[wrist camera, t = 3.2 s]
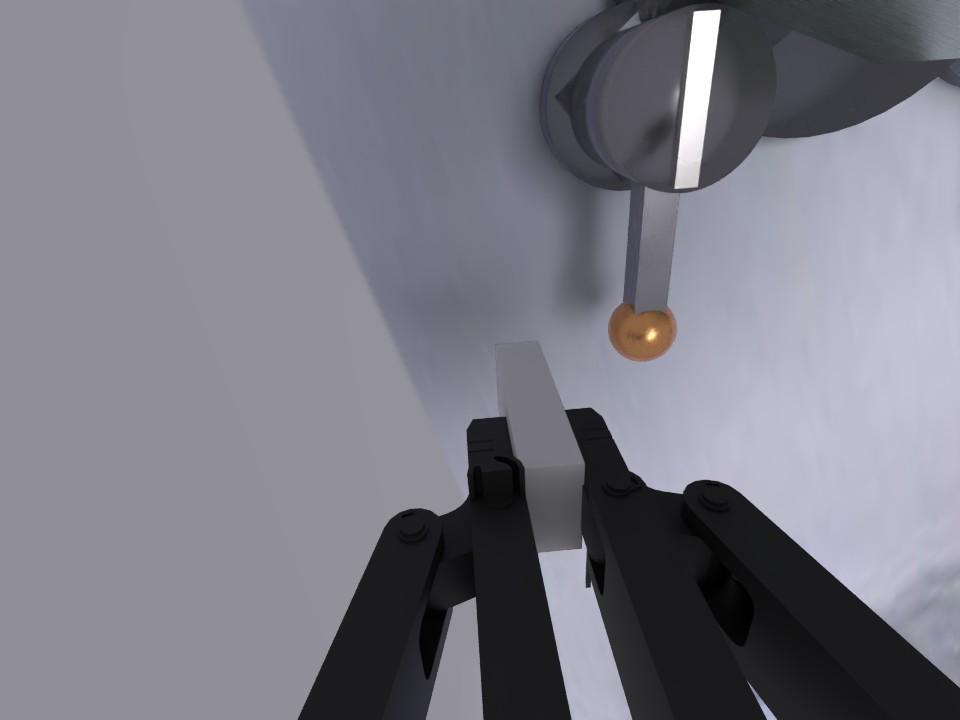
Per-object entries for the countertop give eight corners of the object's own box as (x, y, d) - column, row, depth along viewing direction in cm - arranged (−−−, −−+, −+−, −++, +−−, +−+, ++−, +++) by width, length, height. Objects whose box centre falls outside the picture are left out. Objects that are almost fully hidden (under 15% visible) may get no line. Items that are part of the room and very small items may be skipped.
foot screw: (570, 32, 18) (615, 8, 13) (705, 21, 18) (801, -6, 13) (566, 331, 23) (596, 395, 18) (669, 323, 23) (726, 384, 18)
